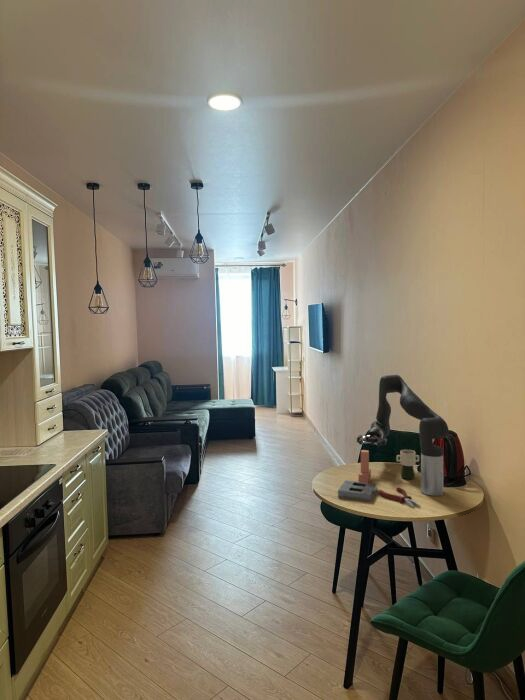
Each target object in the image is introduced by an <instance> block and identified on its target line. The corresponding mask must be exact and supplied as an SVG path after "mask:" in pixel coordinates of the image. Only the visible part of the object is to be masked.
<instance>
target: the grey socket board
mask: <svg viewBox="0 0 525 700" xmlns="http://www.w3.org/2000/svg"><path fill="white" fill-rule="evenodd" d="M341 484H342V485H340V487H339V489H338V490H337V497H338V498H341V497H344V498H343V499H348V498H349V500H355V499H357V500H356V501H362V500H363V501H364V502H369V501H371V502H372V500H373V498H374V496H375V494H376V492H377V483H370V482H368V483H364V482H359V481H356V480H355V481H354V480H348V479H345V481H344V482H343V483H341Z"/></svg>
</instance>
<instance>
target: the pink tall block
mask: <svg viewBox="0 0 525 700" xmlns="http://www.w3.org/2000/svg"><path fill="white" fill-rule="evenodd" d="M371 480H372V470H371V469H370V451H369V450H367V449H361V450H360V471H359V473H358V482H364V483H369V482H371Z"/></svg>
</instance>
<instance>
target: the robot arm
mask: <svg viewBox="0 0 525 700" xmlns="http://www.w3.org/2000/svg"><path fill="white" fill-rule="evenodd" d="M378 386H379V388H378V390H379V391H378V408H377V412H376V415H375V416H376V418H375V419H376V420H375V421H373V422H371V425H370V429H369V431H368V432H367V434H366V435H364V436H363V435H362V434H359V435H358V436H357V437H356V443H358V445H363V444H365V445H366V444H370V445H372V446H375V445H376V447H378V448H379V447H380V446H386V444H387V437H388V436H389V435H390V432H391V426H390V418H391V413H392V408H391V407H392V406H391V404H390V403H389V401H388V399H387V394H391V393H399V394H400V397H399V405H400V407H401V408H402V409H403V411H404V412H406V414H408V415H409V416H410V417H412V418H415V419H417V420H419V426H418V427H419V428H418V435H419V446H420V492H421V493H422V494H424V495H427V496H434V497H436V496H438V497H439V496H443V495H444V448H443V447H441V446H440V445H435V444H434V442H433V440H439V439H444V438H446V437H447V436H448V434H449V426H448V424H447V422H446V420H445V419H443V417H442V416H440V415H439V414H438V413H436V412H435V411H433V410H432V409H431V408H430V406H428V405H427V404H426V403H425V402H424V401H423V400H422V399H421V398H420V397H419V396H418V395H417V394H416V393H415V392H414V391H413V390H412V389H411V388H410V387H409V386H408V384H407V383H406V382H405V381H404V379H403V378H402V377H401V376H400V375H399V374H388V375H382V376H381V377H380V379H379V384H378Z"/></svg>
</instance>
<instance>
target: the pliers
mask: <svg viewBox="0 0 525 700" xmlns="http://www.w3.org/2000/svg"><path fill="white" fill-rule="evenodd" d="M396 492H398V493H400V494H401V495H402V496H401V495H396V494H392V493H389V492H388V493H387V492H385V491H384V490H382V489H380V490H378V495H379V496H380V497H382V498H384V499H388V500H391V501H395V502H399V503H400V504H405V505H406V506H409V507H411V508H414V509H415V508H416V507H419V508H421V507H422V506H421V505H420V504H418V503H417V502H416V501H414V500H413V499H412V496H410V495H408V493H407V492H406V490H405V489H404V488H401V487H396Z"/></svg>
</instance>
